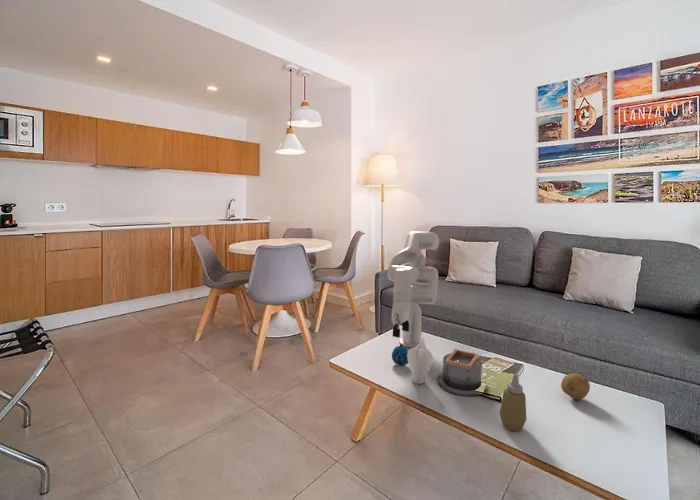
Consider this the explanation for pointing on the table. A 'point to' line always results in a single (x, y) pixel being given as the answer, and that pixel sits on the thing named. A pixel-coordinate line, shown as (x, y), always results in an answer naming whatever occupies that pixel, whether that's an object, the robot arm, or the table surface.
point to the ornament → (400, 355)
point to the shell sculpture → (419, 362)
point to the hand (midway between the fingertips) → (400, 333)
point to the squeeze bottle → (513, 406)
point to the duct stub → (461, 373)
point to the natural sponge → (575, 386)
